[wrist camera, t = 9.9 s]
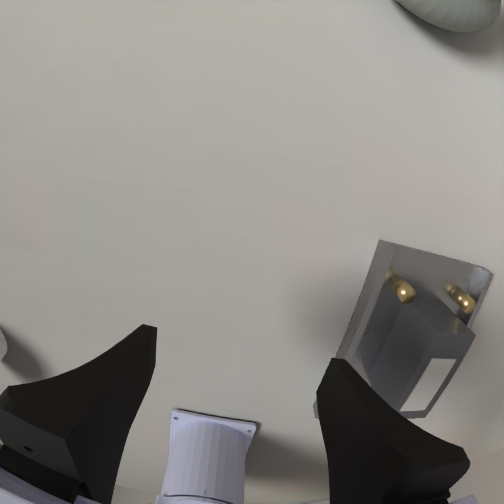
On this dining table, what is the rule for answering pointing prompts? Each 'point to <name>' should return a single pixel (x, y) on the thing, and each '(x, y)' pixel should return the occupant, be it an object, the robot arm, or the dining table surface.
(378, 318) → the tray
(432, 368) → the block
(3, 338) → the white tapered cup
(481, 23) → the air freshener
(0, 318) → the dining table surface
